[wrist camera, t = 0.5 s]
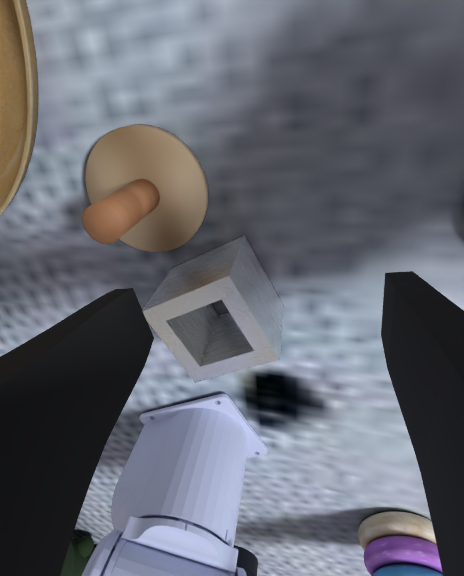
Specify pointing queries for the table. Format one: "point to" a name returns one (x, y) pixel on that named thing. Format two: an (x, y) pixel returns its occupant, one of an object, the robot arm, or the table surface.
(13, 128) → the plant saucer
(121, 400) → the robot arm
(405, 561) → the stacking toy
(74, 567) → the toy figurine
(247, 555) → the wine bottle
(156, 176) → the post stand
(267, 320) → the collar
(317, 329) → the table surface
